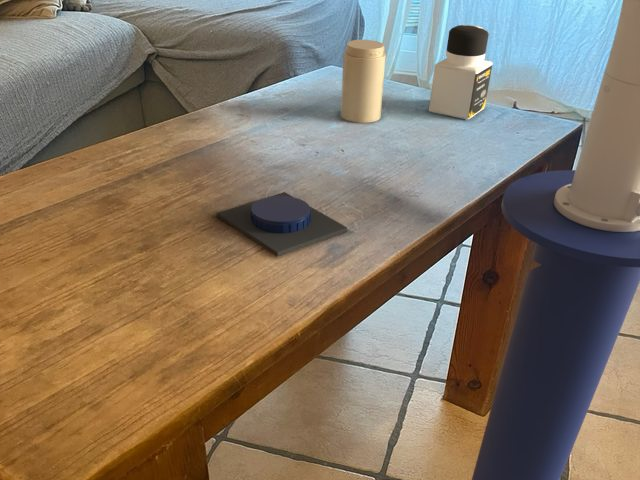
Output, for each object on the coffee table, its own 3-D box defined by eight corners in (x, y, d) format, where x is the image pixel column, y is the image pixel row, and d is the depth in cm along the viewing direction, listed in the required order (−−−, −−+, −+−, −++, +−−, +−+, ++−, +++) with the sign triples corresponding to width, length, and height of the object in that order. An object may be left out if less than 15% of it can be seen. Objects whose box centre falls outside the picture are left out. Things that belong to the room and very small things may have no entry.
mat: (347, 231, 76) (347, 227, 76) (277, 256, 71) (277, 252, 71) (284, 195, 83) (284, 191, 83) (217, 216, 78) (216, 212, 78)
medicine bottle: (468, 120, 105) (483, 35, 97) (427, 112, 108) (438, 28, 100) (484, 109, 110) (500, 26, 102) (445, 100, 113) (457, 19, 104)
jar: (388, 117, 106) (395, 45, 99) (359, 125, 102) (363, 52, 96) (362, 107, 109) (366, 36, 102) (332, 114, 106) (335, 42, 99)
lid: (241, 213, 78) (241, 202, 77) (293, 202, 80) (293, 191, 79) (267, 238, 73) (266, 226, 72) (321, 226, 76) (321, 214, 75)
